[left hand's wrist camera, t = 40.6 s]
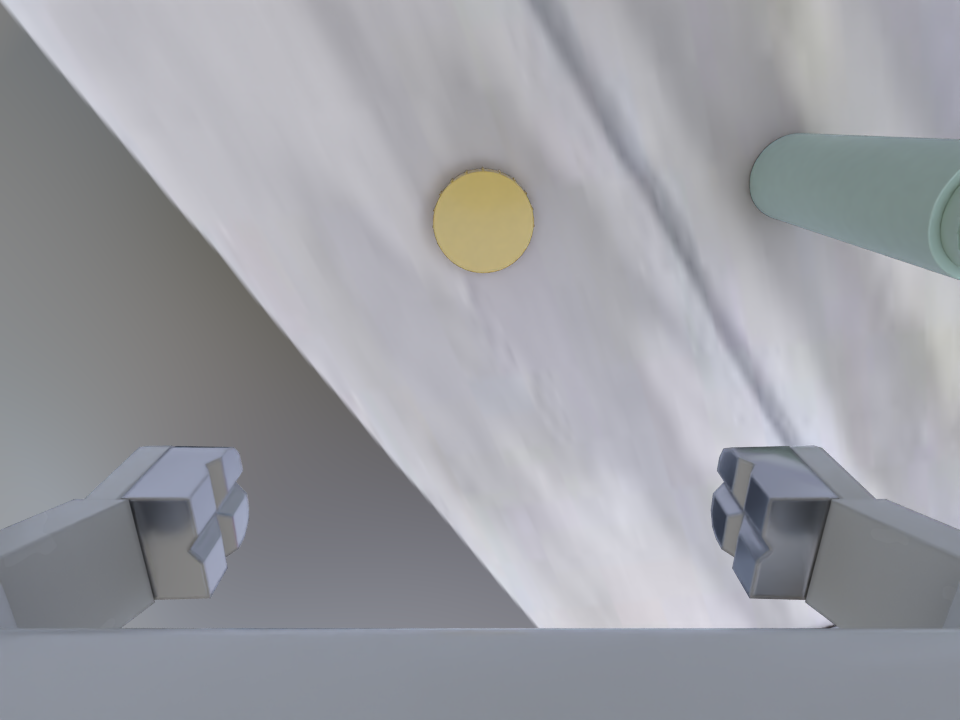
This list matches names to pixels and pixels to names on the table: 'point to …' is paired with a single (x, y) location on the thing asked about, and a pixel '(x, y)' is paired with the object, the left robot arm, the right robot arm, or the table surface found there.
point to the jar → (868, 193)
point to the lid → (483, 220)
